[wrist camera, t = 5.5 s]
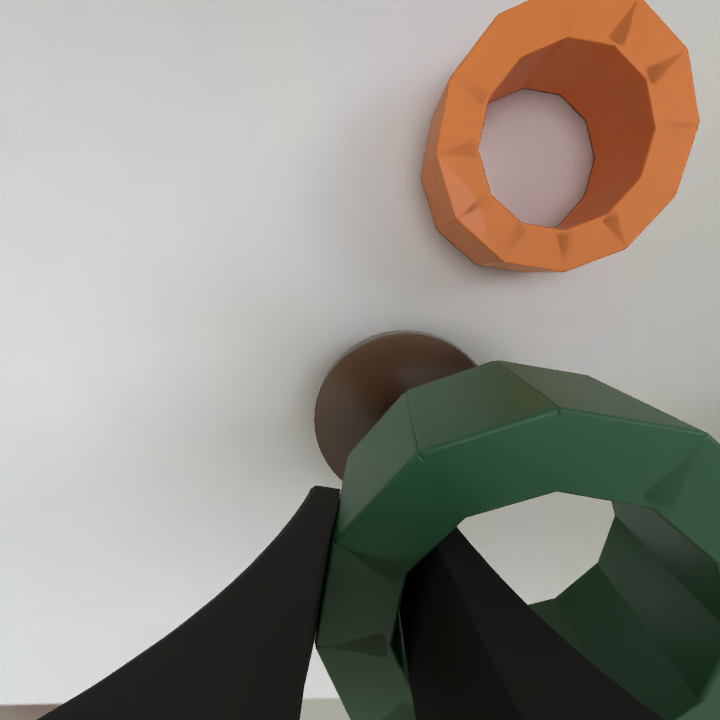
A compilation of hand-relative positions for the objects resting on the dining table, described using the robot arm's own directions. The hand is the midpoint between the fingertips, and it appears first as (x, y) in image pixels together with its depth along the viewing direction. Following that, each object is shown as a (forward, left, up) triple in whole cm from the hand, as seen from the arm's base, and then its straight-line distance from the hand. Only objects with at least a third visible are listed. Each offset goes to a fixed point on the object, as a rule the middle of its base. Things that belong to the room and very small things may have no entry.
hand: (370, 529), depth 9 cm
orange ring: (+1, -13, -10) cm, 17 cm away
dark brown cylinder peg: (-2, 0, -10) cm, 11 cm away
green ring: (-3, -2, -1) cm, 4 cm away
